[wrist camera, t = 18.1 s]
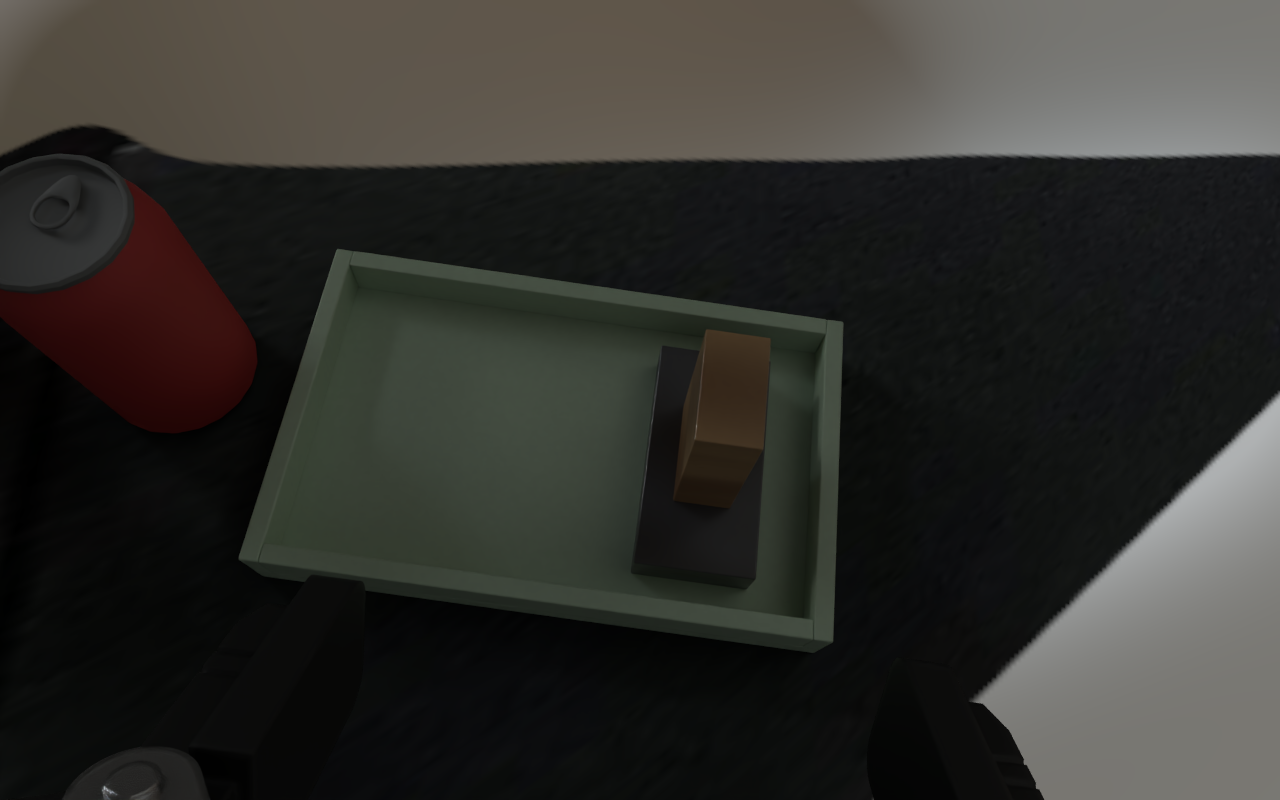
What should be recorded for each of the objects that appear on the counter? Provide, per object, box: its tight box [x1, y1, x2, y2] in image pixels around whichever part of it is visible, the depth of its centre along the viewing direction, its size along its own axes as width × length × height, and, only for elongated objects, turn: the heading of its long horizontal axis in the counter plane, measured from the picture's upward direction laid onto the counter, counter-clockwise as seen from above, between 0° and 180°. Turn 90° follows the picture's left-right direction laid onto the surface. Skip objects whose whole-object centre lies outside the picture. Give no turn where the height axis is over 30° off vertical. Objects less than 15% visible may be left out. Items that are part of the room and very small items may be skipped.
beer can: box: [0, 154, 257, 433], centre depth 35 cm, size 7×7×12 cm
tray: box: [239, 249, 843, 653], centre depth 39 cm, size 24×15×3 cm, turn 83°
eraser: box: [631, 329, 771, 589], centre depth 35 cm, size 10×5×9 cm, turn 173°
